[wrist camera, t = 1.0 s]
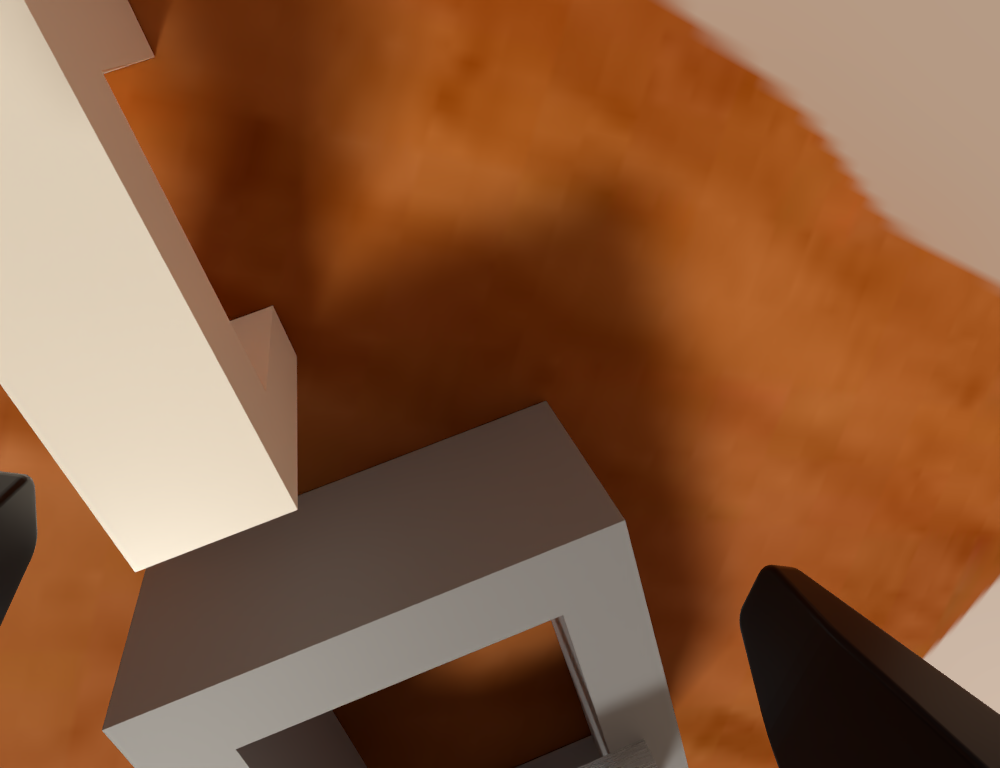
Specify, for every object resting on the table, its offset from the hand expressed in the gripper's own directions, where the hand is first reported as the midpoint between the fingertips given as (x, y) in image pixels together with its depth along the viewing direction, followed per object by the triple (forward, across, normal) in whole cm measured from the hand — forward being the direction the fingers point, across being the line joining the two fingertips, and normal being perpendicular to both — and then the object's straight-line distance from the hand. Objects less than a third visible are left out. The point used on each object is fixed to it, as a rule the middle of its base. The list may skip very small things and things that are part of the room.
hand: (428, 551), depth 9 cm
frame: (+11, -4, +14) cm, 18 cm away
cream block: (+11, +6, 0) cm, 12 cm away
